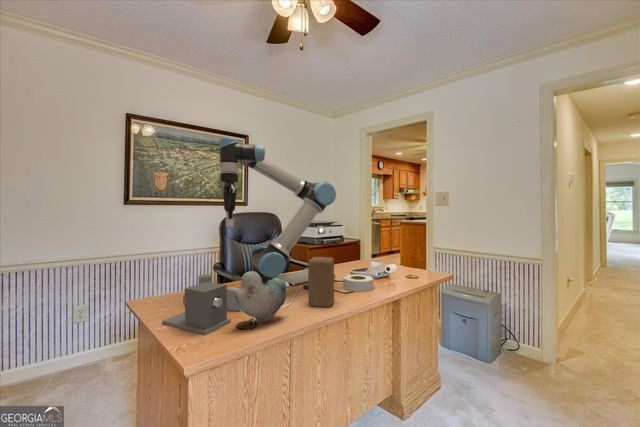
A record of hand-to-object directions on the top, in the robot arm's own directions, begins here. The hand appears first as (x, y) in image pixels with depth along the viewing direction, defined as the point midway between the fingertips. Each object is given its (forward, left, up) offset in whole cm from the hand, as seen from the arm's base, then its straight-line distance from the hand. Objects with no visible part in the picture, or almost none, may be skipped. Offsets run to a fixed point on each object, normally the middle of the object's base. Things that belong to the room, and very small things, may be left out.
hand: (229, 226), depth 132 cm
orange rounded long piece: (+20, -15, -29) cm, 38 cm away
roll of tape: (+14, +63, -35) cm, 74 cm away
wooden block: (+24, +33, -35) cm, 54 cm away
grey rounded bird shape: (+29, +3, -35) cm, 45 cm away
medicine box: (+9, -1, -35) cm, 36 cm away
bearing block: (+16, -18, -34) cm, 42 cm away
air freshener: (-17, -7, -35) cm, 39 cm away
